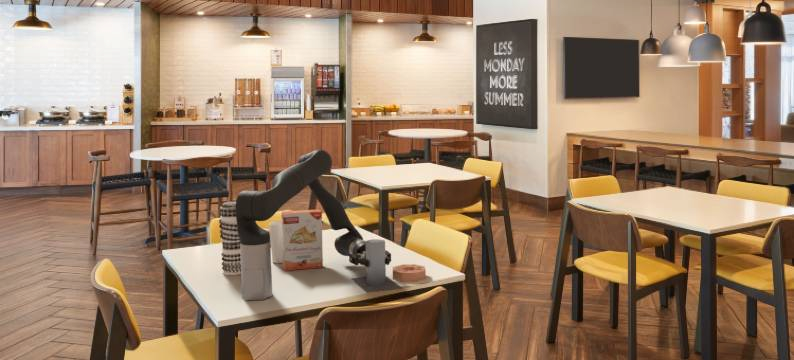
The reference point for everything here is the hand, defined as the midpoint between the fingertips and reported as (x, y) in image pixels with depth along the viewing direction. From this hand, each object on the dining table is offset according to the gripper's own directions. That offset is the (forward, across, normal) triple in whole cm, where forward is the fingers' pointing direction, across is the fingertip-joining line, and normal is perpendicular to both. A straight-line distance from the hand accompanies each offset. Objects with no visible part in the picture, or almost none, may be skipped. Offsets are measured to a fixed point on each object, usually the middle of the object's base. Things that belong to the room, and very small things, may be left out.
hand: (378, 262), depth 219 cm
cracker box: (-34, -17, +8) cm, 39 cm away
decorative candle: (-39, -41, +8) cm, 57 cm away
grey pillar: (-2, 0, +7) cm, 8 cm away
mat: (-2, 0, +8) cm, 8 cm away
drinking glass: (-46, -24, +8) cm, 52 cm away
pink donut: (-5, +13, +8) cm, 16 cm away
